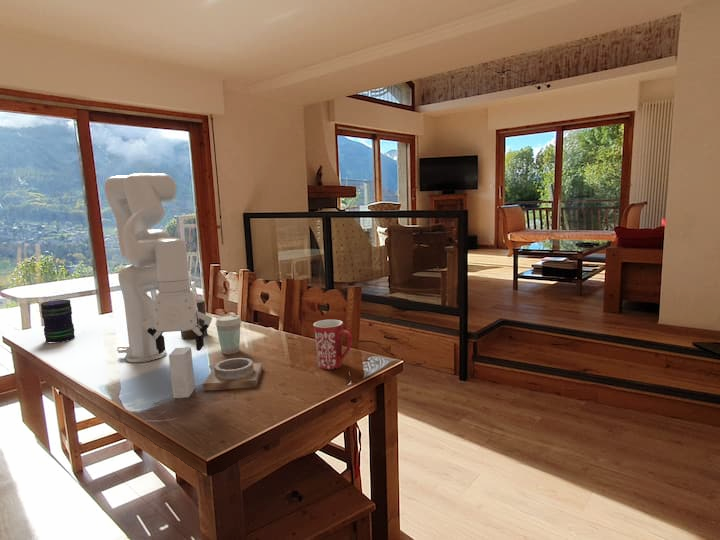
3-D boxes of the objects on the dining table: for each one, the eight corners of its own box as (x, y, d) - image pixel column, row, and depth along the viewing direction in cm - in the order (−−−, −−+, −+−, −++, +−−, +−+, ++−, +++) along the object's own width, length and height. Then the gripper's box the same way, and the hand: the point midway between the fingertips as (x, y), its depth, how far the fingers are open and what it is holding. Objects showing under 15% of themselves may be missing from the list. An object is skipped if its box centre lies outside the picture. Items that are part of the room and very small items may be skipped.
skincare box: (179, 389, 124) (175, 347, 123) (195, 388, 125) (191, 346, 123) (172, 398, 118) (168, 354, 117) (189, 397, 119) (185, 354, 117)
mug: (309, 367, 138) (307, 324, 136) (327, 358, 145) (325, 317, 143) (342, 375, 131) (341, 330, 129) (360, 365, 138) (358, 322, 136)
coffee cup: (236, 356, 151) (233, 321, 149) (212, 355, 152) (210, 320, 151) (247, 348, 159) (245, 314, 157) (225, 347, 161) (222, 314, 159)
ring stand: (204, 390, 123) (202, 374, 122) (215, 371, 137) (214, 357, 136) (256, 387, 124) (255, 371, 124) (262, 368, 138) (261, 354, 137)
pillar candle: (202, 339, 172) (199, 300, 170) (176, 339, 172) (173, 300, 170) (211, 332, 181) (208, 295, 179) (187, 332, 182) (184, 295, 180)
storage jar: (56, 344, 171) (51, 305, 169) (39, 342, 175) (33, 304, 172) (81, 336, 180) (76, 300, 178) (64, 334, 184) (59, 298, 182)
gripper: (134, 291, 113) (141, 357, 115) (205, 287, 114) (211, 352, 116) (145, 286, 120) (152, 348, 122) (211, 282, 122) (217, 344, 124)
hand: (180, 350), depth 119 cm, fingers open, 9 cm apart
